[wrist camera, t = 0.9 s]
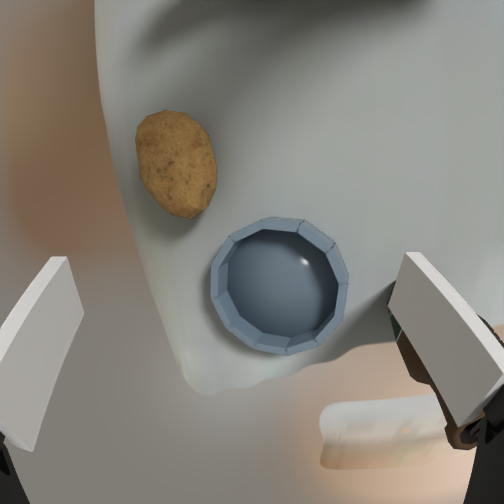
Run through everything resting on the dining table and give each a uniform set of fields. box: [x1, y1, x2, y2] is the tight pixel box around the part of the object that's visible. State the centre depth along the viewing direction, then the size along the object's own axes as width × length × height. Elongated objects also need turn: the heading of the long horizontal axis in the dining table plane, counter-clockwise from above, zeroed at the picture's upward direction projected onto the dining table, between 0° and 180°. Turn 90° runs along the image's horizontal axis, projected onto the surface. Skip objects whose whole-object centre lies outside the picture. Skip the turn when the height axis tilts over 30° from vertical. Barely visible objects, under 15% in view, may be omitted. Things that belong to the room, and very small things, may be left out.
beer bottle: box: [387, 281, 485, 450], centre depth 23 cm, size 8×8×24 cm
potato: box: [135, 110, 217, 219], centre depth 36 cm, size 10×14×8 cm
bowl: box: [210, 217, 349, 356], centre depth 37 cm, size 16×16×4 cm
